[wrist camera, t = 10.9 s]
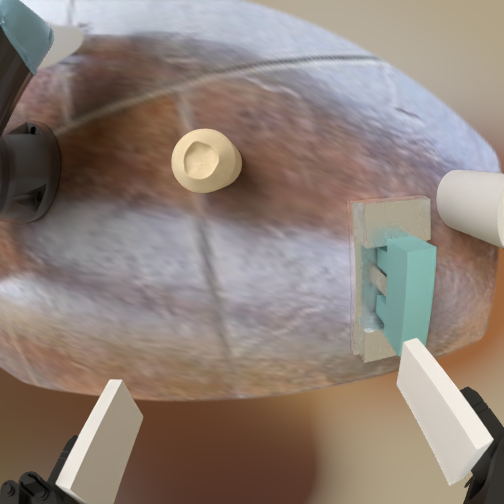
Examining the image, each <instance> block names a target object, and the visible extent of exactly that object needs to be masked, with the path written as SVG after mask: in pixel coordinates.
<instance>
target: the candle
mask: <svg viewBox="0 0 504 504" xmlns="http://www.w3.org/2000/svg"><path fill="white" fill-rule="evenodd" d="M171 164H172V170H173V173H174V176H175V178H176V179H177V181H178V182H179V183H180V184H181V185H182V186H183V187H185V188H186V189H188V190H190V191H193V192H196V193H209V192H213V191H216V190H218V189H221V188H223V187H226V186H228V185H230V184H231V183H232V182H234V181H235V180H236V179H237V177H238V176H239V174H240V171H241V168H242V158H241V155H240V153H239V151H238V149H237V148H236V147H235V146H234V145H233V143H232V142H231V141H230V140H229V139H228V138H227V137H225V136H224V135H223V134H221V133H220V132H218V131H215V130H212V129H198V130H194V131H191V132H189V133H188V134H186V135H185V136H183V137H182V138H181V139H180V140H179V142H178V143H177V145H176V146H175V148H174V151H173V154H172V160H171Z"/></svg>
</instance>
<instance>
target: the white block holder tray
mask: <svg viewBox="0 0 504 504" xmlns="http://www.w3.org/2000/svg"><path fill="white" fill-rule="evenodd" d="M347 212H348V225H349V242H350V264H351V345H350V348H351V350H352V352H353V354H354V355H359V354H360V356H361V358H362V360H363V362H364V363H366V362H371V361H375V360H379V359H384V358H388V357H392V356H396V355H397V354H396V352H395V351H394V349H393V348H392V346H391V345H390V343H389V342H388V340H387V339H386V337H385V336H384V323H383V321H382V320H381V319H380V317H379V316H378V315H377V313H376V307H377V296H378V295H383V294H384V296H385V297H386V286H387V274H386V273H385V272H384V271H383V270H382V269H380V268H379V267H378V266H377V247H382V246H387V239H394V238H402V237H409V236H415V237H417V238H419V239H421V240H423V241H425V242H427V240H431V213H430V198H427V196H422V195H409V196H396V197H384V198H373V199H362V200H352V201H347Z"/></svg>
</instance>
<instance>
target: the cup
mask: <svg viewBox="0 0 504 504" xmlns="http://www.w3.org/2000/svg"><path fill="white" fill-rule="evenodd" d="M436 201H437V209H438V213H439V215H440V217H441V219H442V221H443V222H444V223H445V224H446V225H447V226H448V227H450V228H452V229H455V230H458V231H460V232H463V233H466V234H468V235H471V236H473V237H476V238H478V239H481V240H483V241H486V242H488V243H490V244H493V245H495V246H498V247H500V248H503V249H504V174H502V173H492V172H481V171H468V170H452V171H450V172H448V173H447V174H446V175H445V176H444V177H443V178H442V180H441V182H440V184H439V187H438V190H437V200H436Z"/></svg>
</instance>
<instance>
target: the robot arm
mask: <svg viewBox="0 0 504 504" xmlns="http://www.w3.org/2000/svg"><path fill="white" fill-rule="evenodd" d="M53 41H54V32H53V30H52V28H51V27H50V26H49V25H48V24H47V23H46V22H45V21H44V20H43V19H42V18H40V17H39V16H38V15H37V14H36V13H34V12H33V11H32V10H31V9H30V8H28V7H27V6H26V5H24V4H23V3H22V2H21V1H19V0H0V221H4V222H9V223H15V224H24V223H28V222H31V221H34V220H37V219H38V218H40V217H41V216H42V215H44V214H45V212H46V211H47V210H48V209H49V207H50V205H51V204H52V202H53V199H54V197H55V194H56V191H57V188H58V183H59V177H60V154H59V149H58V145H57V142H56V139H55V137H54V135H53V133H52V132H51V130H50V129H49V128H48V127H47V126H45V125H44V124H42V123H39V122H32V121H23V122H19V123H16V124H14V125H11V126H8V127H6V125H7V123H8V121H9V119H10V117H11V115H12V113H13V111H14V109H15V107H16V105H17V103H18V101H19V99H20V98H21V96H22V94H23V92H24V91H25V89H26V87H27V86H28V84H29V82H30V81H31V79H32V77H33V76H35V75H36V73H37V69H38V67H39V65H40V64H41V62H42V60H43V58H44V57H45V56H46V54H47V53H48V51H49V50H50V48H51V46H52V44H53ZM5 127H6V128H5ZM397 386H398V388H399V390H400V391H401V393H402V395H403V397H404V399H405V400H406V402H407V404H408V406H409V408H410V409H411V411H412V413H413V415H414V417H415V419H416V421H417V422H418V424H419V426H420V428H421V430H422V432H423V434H424V436H425V437H426V439H427V441H428V443H429V445H430V447H431V449H432V451H433V453H434V455H435V457H436V459H437V461H438V463H439V465H440V467H441V469H442V471H443V473H444V476H445V477H446V480H447V482H448V484H449V486H450V485H452V484H454V483H456V482H458V481H459V480H461V479H463V478H465V477H466V476H467V474H468V473H469V472H470V471H471V472H472V473H473V476H472V477H471V478H470V480H469V481H468V482H467V483H466V485H465V488H466V487H467V486H468V485H469V484H470V485H469V488H468V491H467V494H466V497H465V500H464V503H463V504H504V427H503V426H502V424H501V423H500V422H499V420H498V419H497V417H496V416H495V415H494V414H493V412H492V411H491V409H490V408H488V406H487V404H486V403H485V402H484V401H483V399H482V398H481V396H480V395H479V394H478V393H477V392H476V391H474V390H472V389H471V388H469V387H466V388H464V389H462V390H460V391H459V390H458V388H457V387H456V386H455V384H454V383H453V382H452V381H451V379H450V378H449V377H448V375H447V374H446V373H445V371H444V370H443V369H442V368H441V366H440V365H439V364H438V363H437V361H436V360H435V359H434V358H433V356H432V355H431V354H430V353H429V351H428V350H427V349H426V348H425V346H424V345H423V344H422V343H421V342H420V340H419V339H418V338H414V339H411V340H408V341H405V342H403V348H402V355H401V361H400V367H399V373H398V379H397ZM142 420H143V415H142V414H141V412H140V411H139V409H138V407H137V405H136V404H135V402H134V400H133V398H132V396H131V395H130V393H129V391H128V389H127V387H126V386H125V384H124V382H123V380H109V382H108V384H107V385H106V387H105V389H104V391H103V393H102V394H101V396H100V398H99V400H98V401H97V404H96V405H95V407H94V409H93V411H92V413H91V414H90V416H89V418H88V420H87V422H86V424H85V425H84V427H83V429H82V431H81V433H80V435H79V436H76V435H74V436H73V437H72V438H71V439H70V440H69V441H68V442H67V444H66V446H65V448H64V450H63V452H62V453H61V455H60V459H58V461H57V463H56V465H55V467H54V469H53V471H52V473H51V475H50V477H49V479H48V481H47V482H46V481H44V480H43V479H42V478H41V477H40V476H39V475H38V474H37V473H35V472H32V471H31V472H26V473H24V474H23V475H22V476H21V477H20V479H19V482H18V484H17V483H16V482H15V481H13V480H8V481H6V482H4V483H3V485H2V486H1V489H0V504H113V503H114V500H115V497H116V494H117V491H118V488H119V485H120V482H121V479H122V476H123V473H124V470H125V467H126V464H127V461H128V459H129V456H130V453H131V450H132V447H133V444H134V442H135V439H136V436H137V433H138V430H139V428H140V425H141V422H142Z"/></svg>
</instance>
